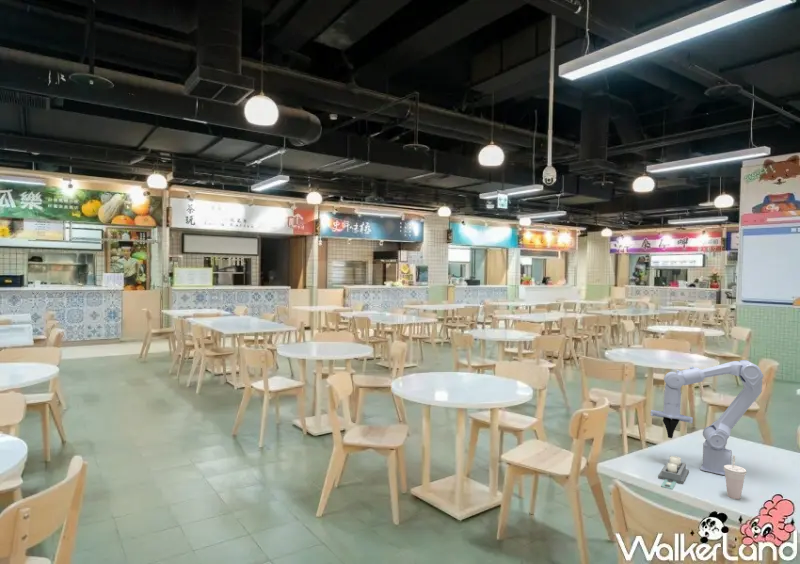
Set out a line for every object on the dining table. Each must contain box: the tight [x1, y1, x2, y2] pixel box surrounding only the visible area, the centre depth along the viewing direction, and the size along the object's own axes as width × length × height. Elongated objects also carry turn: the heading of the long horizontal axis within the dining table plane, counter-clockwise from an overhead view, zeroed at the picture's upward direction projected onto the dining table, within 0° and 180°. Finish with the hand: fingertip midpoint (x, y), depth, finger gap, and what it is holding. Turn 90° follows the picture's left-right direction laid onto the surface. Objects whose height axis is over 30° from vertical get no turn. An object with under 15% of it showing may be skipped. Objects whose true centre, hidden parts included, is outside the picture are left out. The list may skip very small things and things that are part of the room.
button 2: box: [674, 455, 682, 466], centre depth 189 cm, size 3×3×4 cm
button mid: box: [669, 455, 679, 470], centre depth 185 cm, size 3×3×4 cm
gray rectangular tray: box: [657, 459, 690, 485], centre depth 185 cm, size 8×14×3 cm, turn 143°
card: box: [660, 479, 677, 490], centre depth 177 cm, size 4×8×1 cm, turn 143°
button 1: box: [667, 463, 677, 474], centre depth 182 cm, size 3×3×4 cm
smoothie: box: [724, 454, 747, 500], centre depth 168 cm, size 6×6×14 cm
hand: (670, 437), depth 197 cm, fingers closed
